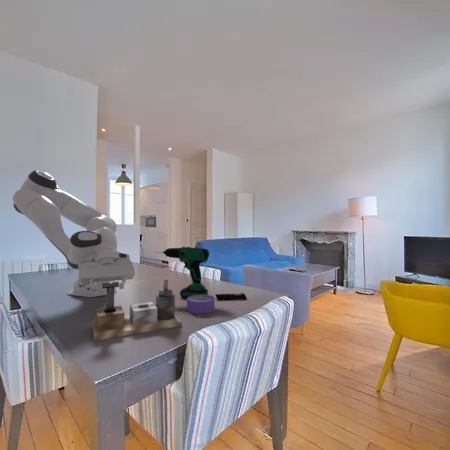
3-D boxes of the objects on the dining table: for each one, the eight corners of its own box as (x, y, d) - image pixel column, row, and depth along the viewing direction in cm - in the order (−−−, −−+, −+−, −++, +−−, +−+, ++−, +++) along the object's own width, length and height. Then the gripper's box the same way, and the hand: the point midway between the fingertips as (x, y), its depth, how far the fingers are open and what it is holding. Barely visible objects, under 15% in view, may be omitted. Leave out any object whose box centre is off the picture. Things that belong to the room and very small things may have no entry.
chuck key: (102, 322, 86) (102, 283, 86) (101, 319, 89) (102, 282, 89) (118, 319, 89) (119, 282, 89) (117, 317, 91) (118, 280, 91)
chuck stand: (94, 341, 80) (95, 290, 80) (92, 325, 93) (93, 281, 92) (181, 325, 94) (182, 282, 94) (170, 313, 106) (170, 275, 106)
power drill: (205, 299, 126) (206, 247, 126) (150, 295, 132) (151, 245, 132) (208, 296, 131) (209, 246, 131) (155, 292, 137) (156, 244, 137)
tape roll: (188, 305, 118) (188, 294, 118) (214, 305, 119) (214, 294, 119) (185, 314, 106) (186, 301, 106) (214, 314, 107) (214, 301, 107)
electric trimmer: (214, 299, 129) (214, 293, 129) (245, 298, 132) (245, 291, 132) (215, 301, 125) (215, 295, 125) (247, 300, 128) (247, 293, 128)
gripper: (78, 256, 101) (77, 287, 93) (133, 254, 111) (137, 282, 102) (78, 266, 105) (77, 296, 97) (131, 263, 115) (134, 291, 106)
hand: (108, 289), depth 100 cm, fingers open, 8 cm apart
